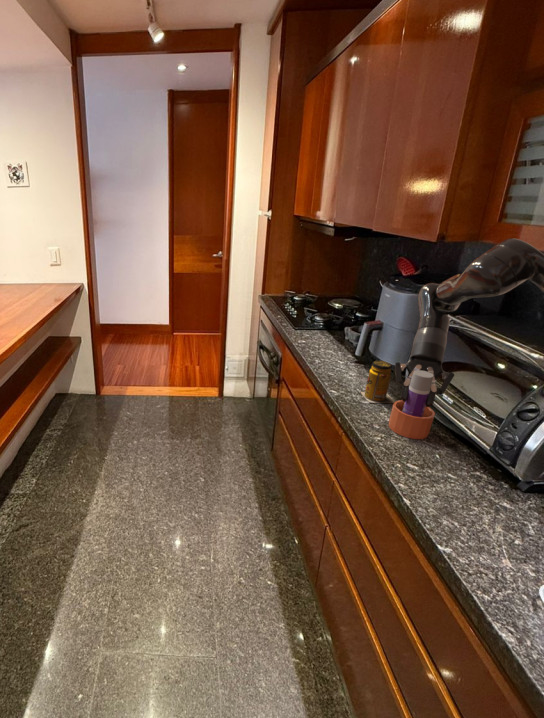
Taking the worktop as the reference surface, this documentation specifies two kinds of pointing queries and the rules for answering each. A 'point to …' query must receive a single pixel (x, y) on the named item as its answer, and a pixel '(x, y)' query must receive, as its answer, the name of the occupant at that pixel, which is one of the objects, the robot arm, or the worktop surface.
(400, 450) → the worktop surface
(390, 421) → the holder
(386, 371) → the condiment
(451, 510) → the worktop surface
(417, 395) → the container
